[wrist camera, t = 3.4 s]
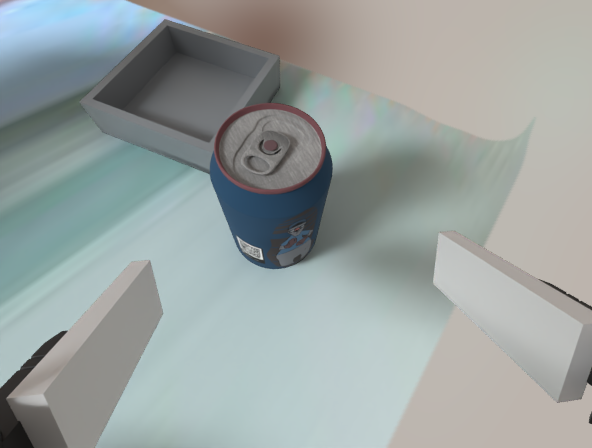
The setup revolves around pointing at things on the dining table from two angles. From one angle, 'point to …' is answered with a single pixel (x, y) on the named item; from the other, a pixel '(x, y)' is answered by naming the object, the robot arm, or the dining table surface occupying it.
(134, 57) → the bin
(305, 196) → the soda can
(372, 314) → the dining table surface
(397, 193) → the dining table surface
